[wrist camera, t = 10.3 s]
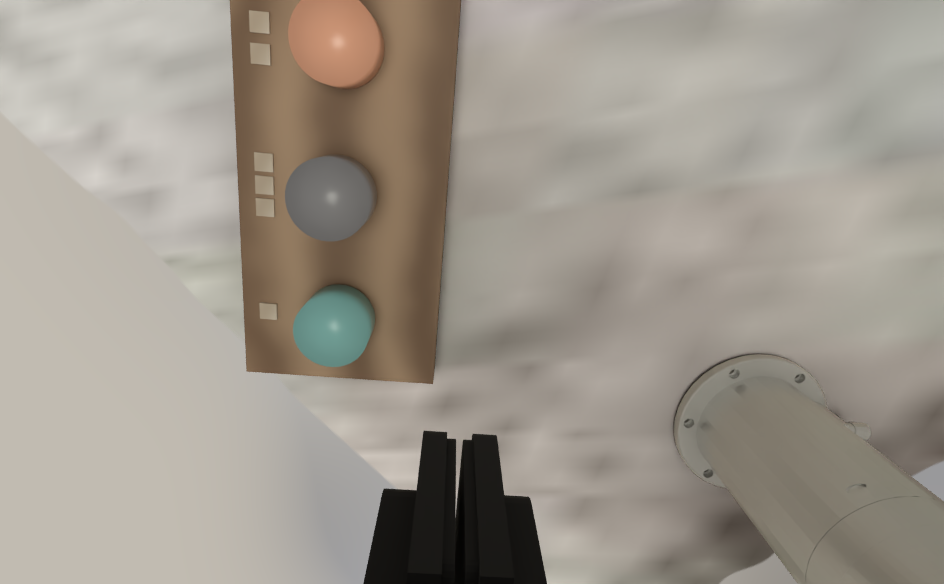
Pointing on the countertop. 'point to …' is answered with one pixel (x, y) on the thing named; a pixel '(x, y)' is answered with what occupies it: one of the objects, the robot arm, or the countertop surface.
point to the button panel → (375, 147)
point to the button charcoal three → (330, 197)
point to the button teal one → (334, 326)
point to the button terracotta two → (336, 42)
